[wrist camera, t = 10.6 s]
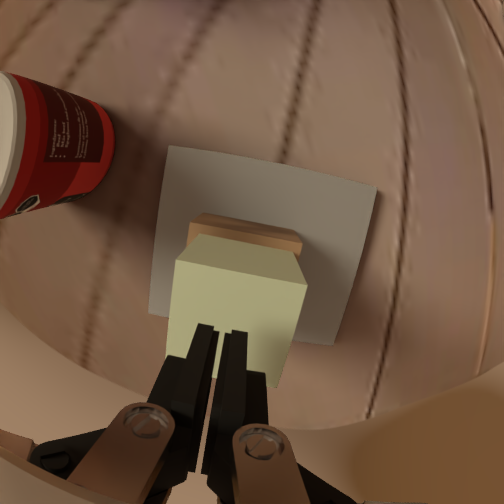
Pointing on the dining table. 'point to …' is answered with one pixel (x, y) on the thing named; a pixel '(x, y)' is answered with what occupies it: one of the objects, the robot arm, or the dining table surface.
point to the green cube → (237, 300)
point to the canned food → (49, 145)
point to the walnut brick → (245, 232)
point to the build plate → (271, 213)
